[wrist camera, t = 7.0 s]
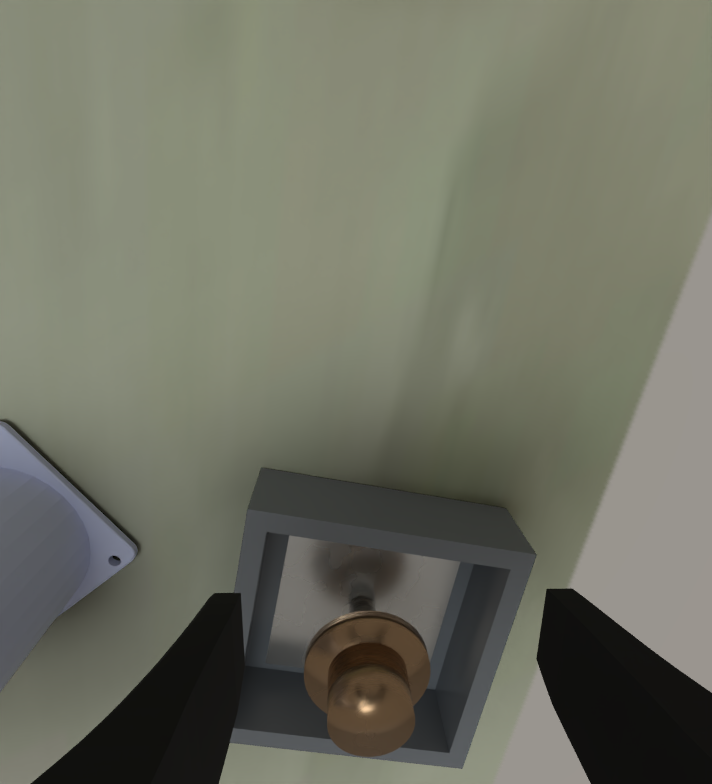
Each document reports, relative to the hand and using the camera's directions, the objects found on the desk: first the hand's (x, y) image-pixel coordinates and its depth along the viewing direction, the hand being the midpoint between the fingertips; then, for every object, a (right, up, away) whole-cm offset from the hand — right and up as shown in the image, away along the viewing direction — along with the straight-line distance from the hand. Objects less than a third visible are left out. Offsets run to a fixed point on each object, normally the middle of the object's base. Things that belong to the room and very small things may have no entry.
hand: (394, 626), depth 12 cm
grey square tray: (-1, -4, +12) cm, 12 cm away
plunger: (-1, -4, +12) cm, 12 cm away
